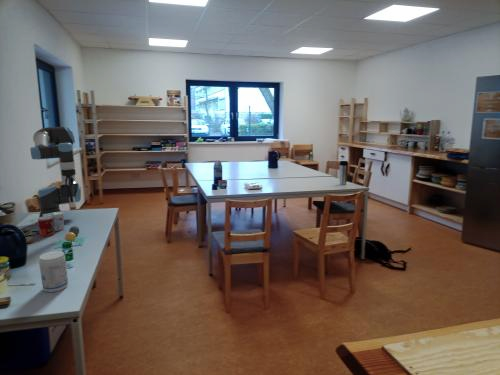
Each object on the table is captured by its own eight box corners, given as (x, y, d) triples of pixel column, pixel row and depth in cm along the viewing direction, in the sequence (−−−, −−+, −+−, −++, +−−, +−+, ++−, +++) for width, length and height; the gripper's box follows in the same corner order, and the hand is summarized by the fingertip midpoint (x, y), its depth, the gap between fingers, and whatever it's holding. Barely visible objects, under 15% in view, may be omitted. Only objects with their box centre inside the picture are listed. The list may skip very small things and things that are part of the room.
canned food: (48, 237, 214) (46, 219, 212) (37, 236, 216) (34, 219, 214) (58, 233, 222) (55, 216, 219) (46, 232, 223) (44, 215, 221)
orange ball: (64, 231, 204) (63, 239, 201) (74, 229, 206) (74, 238, 203) (66, 235, 209) (66, 244, 205) (76, 234, 210) (76, 243, 207)
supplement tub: (39, 288, 151) (34, 255, 148) (62, 280, 158) (58, 248, 155) (48, 295, 145) (43, 261, 142) (72, 286, 152) (68, 254, 149)
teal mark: (59, 240, 209) (59, 239, 209) (85, 237, 213) (85, 236, 213) (54, 248, 196) (54, 248, 196) (82, 245, 200) (81, 244, 200)
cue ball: (68, 226, 213) (68, 236, 213) (78, 226, 215) (79, 235, 215) (69, 226, 219) (70, 235, 218) (79, 225, 220) (80, 234, 220)
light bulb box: (46, 233, 222) (44, 216, 220) (44, 230, 227) (41, 214, 225) (65, 229, 229) (63, 213, 227) (62, 227, 234) (60, 211, 232)
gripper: (63, 167, 219) (68, 204, 224) (58, 170, 207) (64, 210, 212) (76, 166, 221) (81, 203, 226) (73, 170, 209) (77, 208, 214)
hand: (72, 206), depth 219 cm, fingers closed
